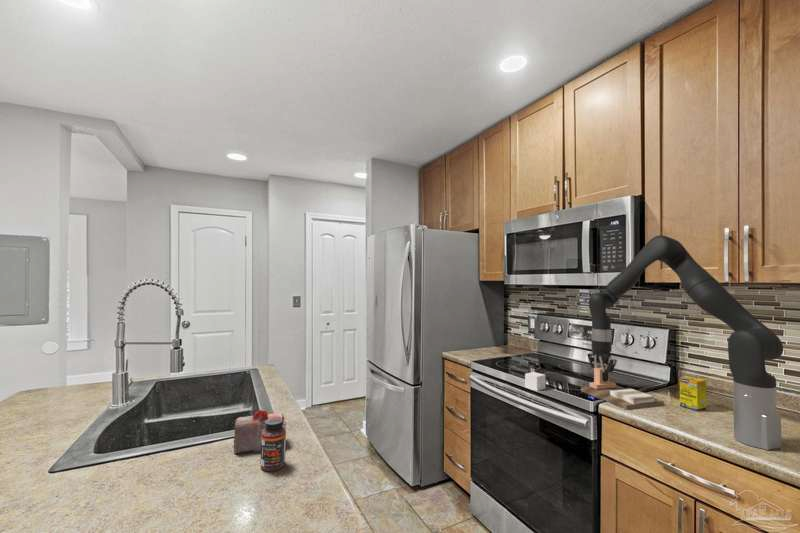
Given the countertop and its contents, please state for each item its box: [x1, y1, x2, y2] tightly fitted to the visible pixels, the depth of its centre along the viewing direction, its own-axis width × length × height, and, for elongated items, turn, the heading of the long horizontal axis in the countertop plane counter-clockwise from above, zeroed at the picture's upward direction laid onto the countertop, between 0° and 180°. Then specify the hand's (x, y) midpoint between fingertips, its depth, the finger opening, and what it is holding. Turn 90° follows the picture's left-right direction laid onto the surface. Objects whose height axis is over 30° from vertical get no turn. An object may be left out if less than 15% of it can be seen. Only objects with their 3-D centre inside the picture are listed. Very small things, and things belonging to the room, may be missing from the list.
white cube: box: [524, 371, 546, 392], centre depth 159 cm, size 6×6×6 cm
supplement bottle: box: [260, 418, 287, 472], centre depth 93 cm, size 6×6×11 cm
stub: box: [588, 367, 617, 389], centre depth 156 cm, size 4×10×8 cm, turn 106°
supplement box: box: [679, 375, 707, 412], centre depth 137 cm, size 6×6×11 cm
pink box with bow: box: [233, 409, 287, 455], centre depth 103 cm, size 14×8×10 cm, turn 114°
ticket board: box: [580, 384, 665, 410], centre depth 147 cm, size 22×18×4 cm
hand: (601, 379), depth 156 cm, fingers closed on stub, 3 cm apart
